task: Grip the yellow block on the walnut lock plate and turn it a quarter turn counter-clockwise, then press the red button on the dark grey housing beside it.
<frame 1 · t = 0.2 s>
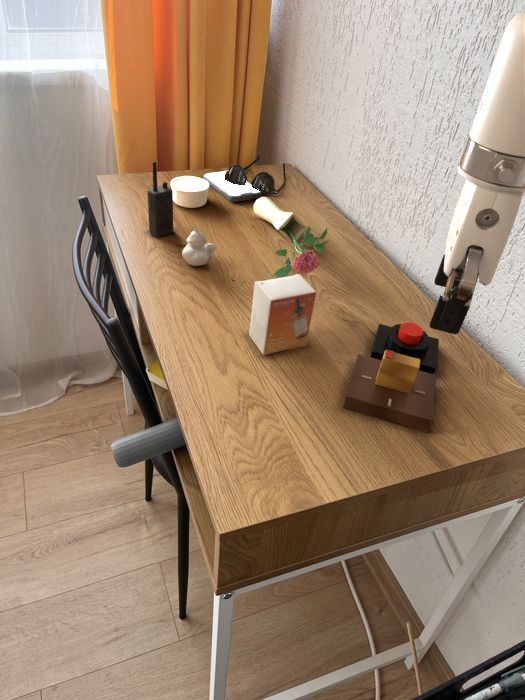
hand: (444, 306, 62), 20 cm above the table, tool pointing down, fingers open, 9 cm apart
toppled flower pot: (283, 255, 108), on the table
walkie-talkie: (161, 233, 110), on the table
button: (410, 333, 83), point 4 cm above the table, slide at 0.1 cm
phone case: (231, 189, 131), on the table
yellow block: (397, 371, 74), point 5 cm above the table, hinge at 0.0°
lock plate: (388, 397, 78), on the table
button box: (402, 355, 86), on the table
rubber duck: (199, 263, 102), on the table
small box: (277, 341, 86), on the table
ramekin: (189, 202, 123), on the table
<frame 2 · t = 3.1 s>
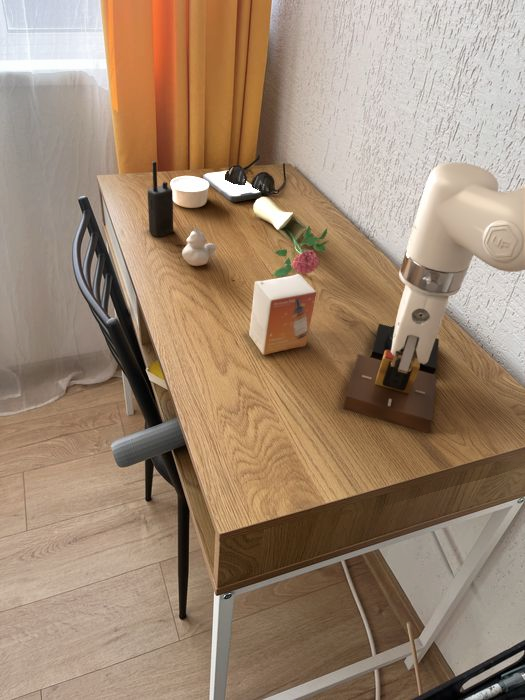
hand: (394, 379, 75), 4 cm above the table, tool pointing down, fingers closed on yellow block, 2 cm apart
yellow block: (397, 371, 74), point 5 cm above the table, hinge at 0.0°, touching gripper
everything else where it was.
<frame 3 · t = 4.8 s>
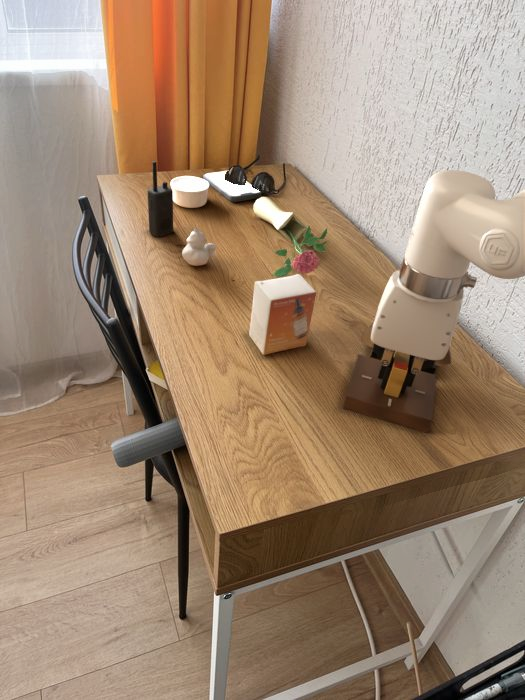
hand: (393, 384, 76), 3 cm above the table, tool pointing down, fingers closed on yellow block, 2 cm apart
yellow block: (397, 371, 74), point 5 cm above the table, hinge at 90.0°, touching gripper
everything else where it was.
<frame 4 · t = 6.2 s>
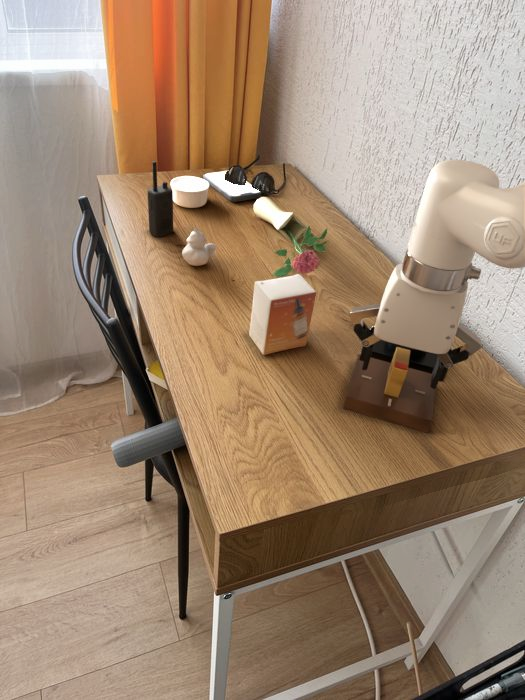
hand: (399, 373, 74), 5 cm above the table, tool pointing down, fingers open, 9 cm apart
yellow block: (397, 371, 74), point 5 cm above the table, hinge at 90.4°
everything else where it was.
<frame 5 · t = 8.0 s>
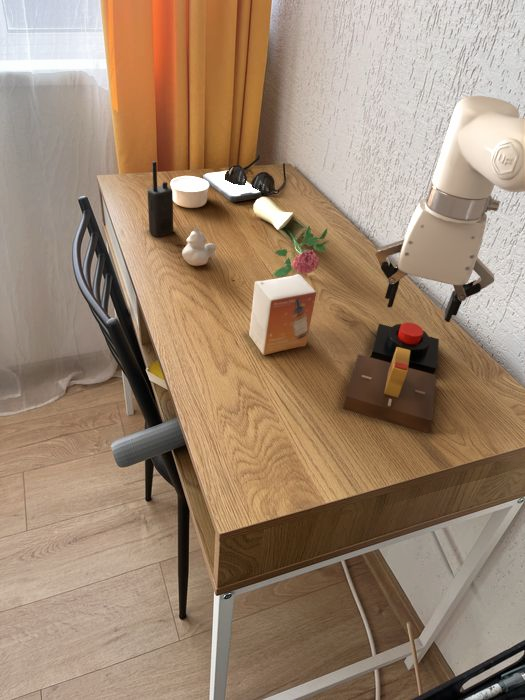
hand: (418, 309, 80), 9 cm above the table, tool pointing down, fingers open, 8 cm apart
nothing on the table moved.
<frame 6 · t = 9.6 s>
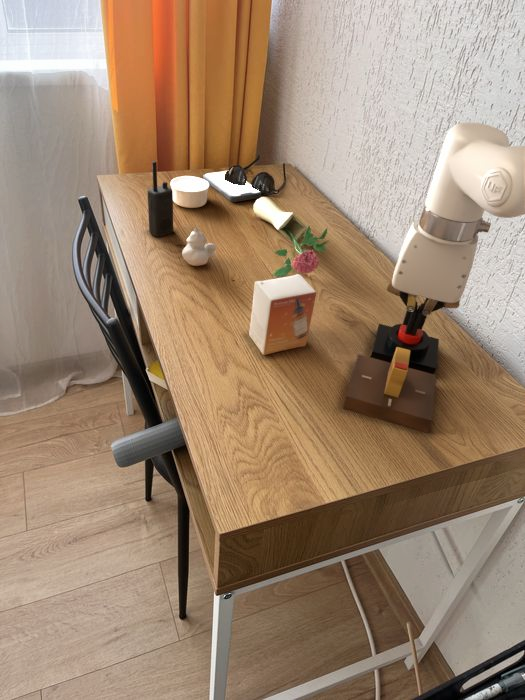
hand: (410, 329, 83), 5 cm above the table, tool pointing down, fingers closed
button: (410, 334, 83), point 4 cm above the table, slide at -0.1 cm, touching gripper
everything else where it was.
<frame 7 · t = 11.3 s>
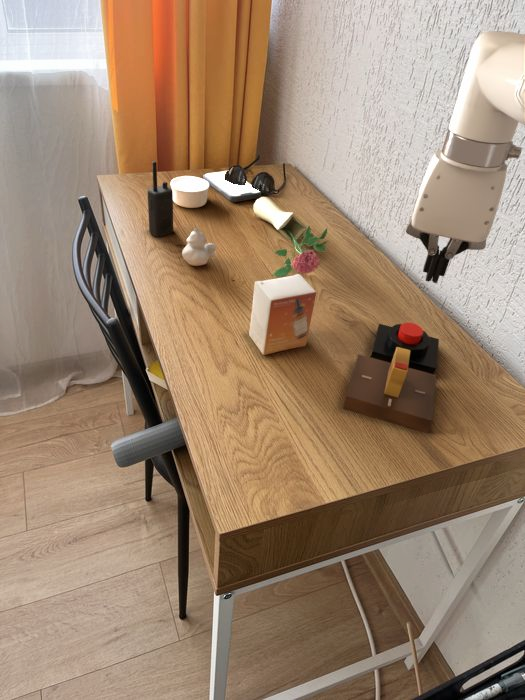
hand: (431, 277, 76), 15 cm above the table, tool pointing down, fingers closed
button: (410, 333, 83), point 4 cm above the table, slide at 0.1 cm
everything else where it was.
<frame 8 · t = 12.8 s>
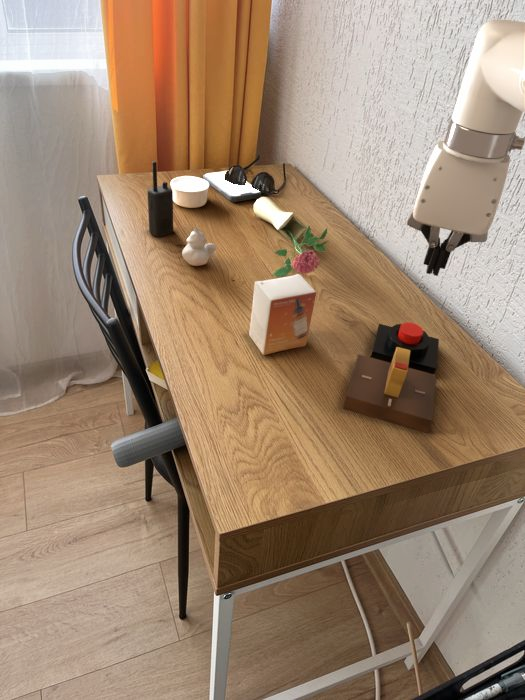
hand: (432, 270, 76), 16 cm above the table, tool pointing down, fingers closed
nothing on the table moved.
at the end: yellow block at +90° (first picture: +0°); button pushed in 1.1 cm at the most during the clip, back to where it started at the end; button slide at 0.1 cm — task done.
